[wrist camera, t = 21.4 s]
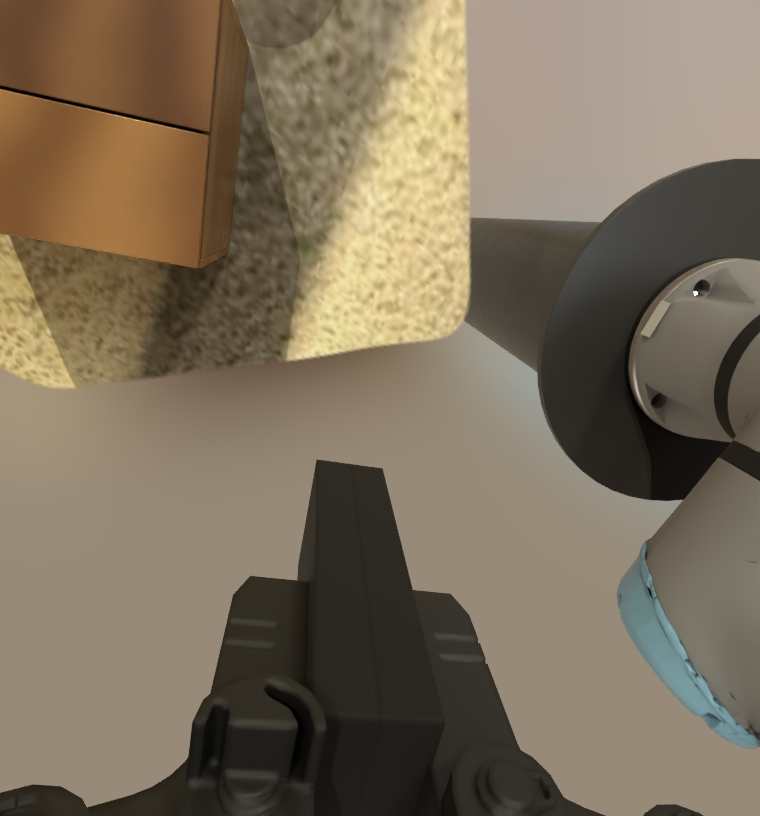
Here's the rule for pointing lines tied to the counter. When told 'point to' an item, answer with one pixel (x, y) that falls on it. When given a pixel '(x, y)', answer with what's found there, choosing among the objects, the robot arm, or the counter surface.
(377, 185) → the counter surface
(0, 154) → the flap
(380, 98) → the counter surface
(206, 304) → the counter surface
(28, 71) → the carton
